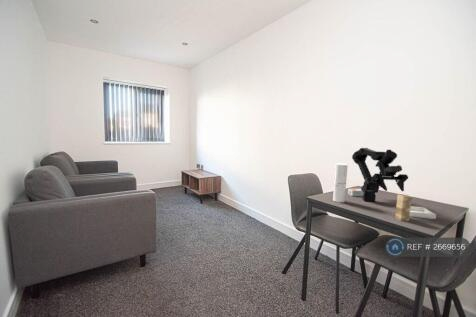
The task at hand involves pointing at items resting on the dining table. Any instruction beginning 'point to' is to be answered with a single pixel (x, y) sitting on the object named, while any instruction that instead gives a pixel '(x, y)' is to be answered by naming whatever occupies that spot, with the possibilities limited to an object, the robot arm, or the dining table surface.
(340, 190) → the cylindrical container
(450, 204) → the dining table surface
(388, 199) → the dining table surface
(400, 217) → the oak block
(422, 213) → the tray
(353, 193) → the skincare box
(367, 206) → the dining table surface
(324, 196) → the dining table surface
